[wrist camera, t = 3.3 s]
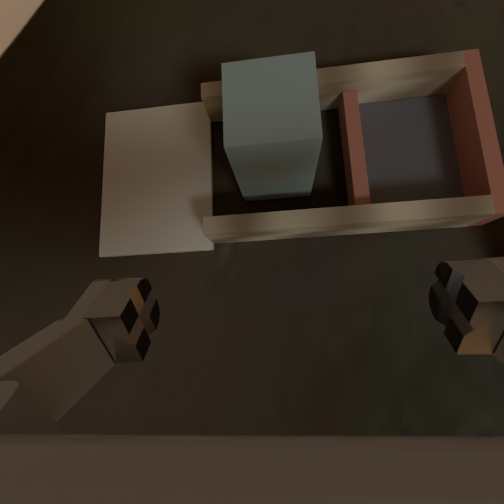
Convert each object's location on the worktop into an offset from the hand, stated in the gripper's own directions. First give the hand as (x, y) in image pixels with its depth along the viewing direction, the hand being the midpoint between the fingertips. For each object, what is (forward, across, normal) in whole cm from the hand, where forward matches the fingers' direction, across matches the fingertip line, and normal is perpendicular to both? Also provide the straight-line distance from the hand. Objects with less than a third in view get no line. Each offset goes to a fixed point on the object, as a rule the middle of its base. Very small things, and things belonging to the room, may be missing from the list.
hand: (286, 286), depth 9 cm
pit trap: (+16, -9, +2) cm, 19 cm away
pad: (+16, +10, +2) cm, 19 cm away
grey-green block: (+16, 0, +2) cm, 17 cm away
